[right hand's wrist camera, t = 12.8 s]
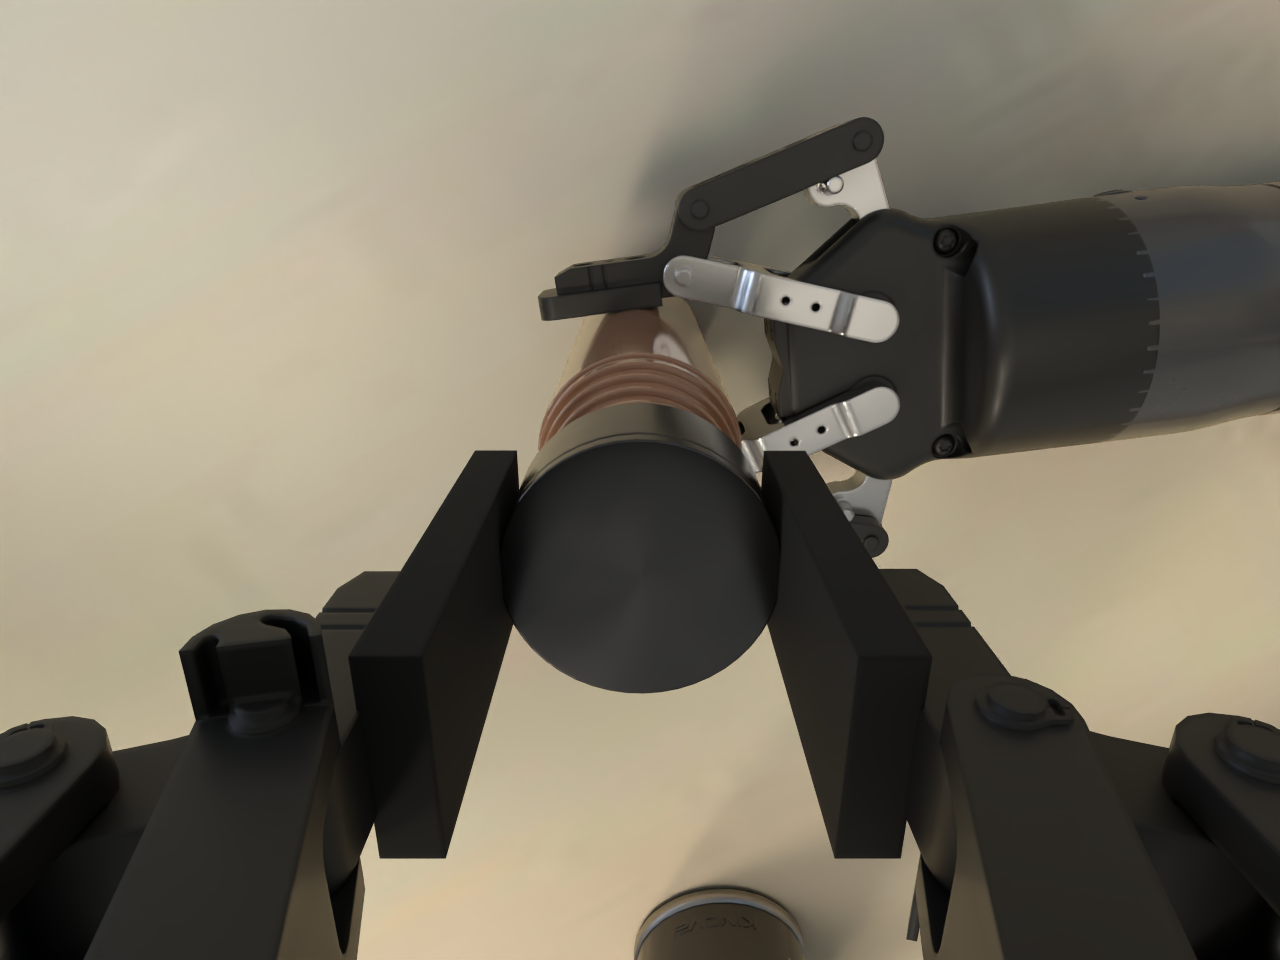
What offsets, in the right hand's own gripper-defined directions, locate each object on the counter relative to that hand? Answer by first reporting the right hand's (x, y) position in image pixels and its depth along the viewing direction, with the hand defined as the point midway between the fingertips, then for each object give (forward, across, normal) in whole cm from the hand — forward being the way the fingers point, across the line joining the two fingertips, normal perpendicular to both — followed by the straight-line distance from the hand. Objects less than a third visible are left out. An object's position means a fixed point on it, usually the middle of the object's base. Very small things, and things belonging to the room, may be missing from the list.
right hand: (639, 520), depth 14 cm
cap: (-2, 0, 0) cm, 2 cm away
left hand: (+11, -3, 0) cm, 12 cm away
